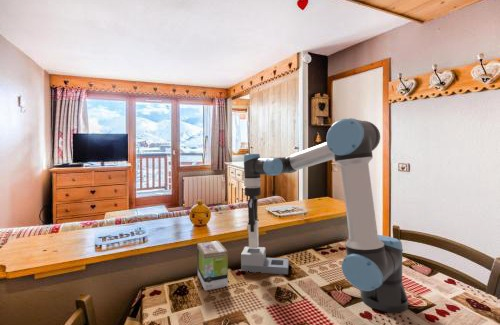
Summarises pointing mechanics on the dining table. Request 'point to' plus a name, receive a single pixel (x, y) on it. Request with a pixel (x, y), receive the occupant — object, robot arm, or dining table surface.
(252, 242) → the plug
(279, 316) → the dining table surface
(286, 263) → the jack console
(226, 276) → the tea box
